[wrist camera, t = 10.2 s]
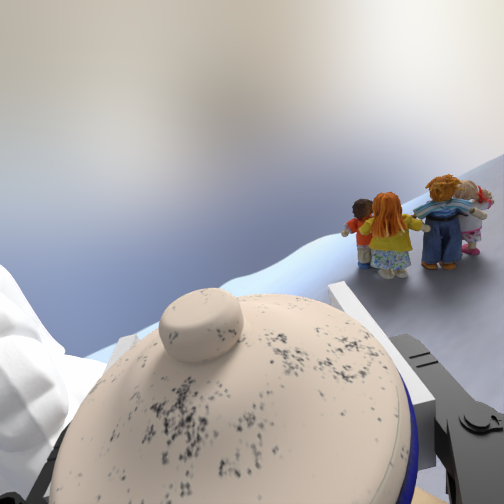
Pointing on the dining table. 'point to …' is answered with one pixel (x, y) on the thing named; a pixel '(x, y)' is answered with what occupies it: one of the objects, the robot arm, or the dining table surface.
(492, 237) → the dining table surface
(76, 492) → the teacup with lid
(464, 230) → the doll family
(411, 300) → the dining table surface
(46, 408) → the decorative rooster
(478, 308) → the dining table surface
